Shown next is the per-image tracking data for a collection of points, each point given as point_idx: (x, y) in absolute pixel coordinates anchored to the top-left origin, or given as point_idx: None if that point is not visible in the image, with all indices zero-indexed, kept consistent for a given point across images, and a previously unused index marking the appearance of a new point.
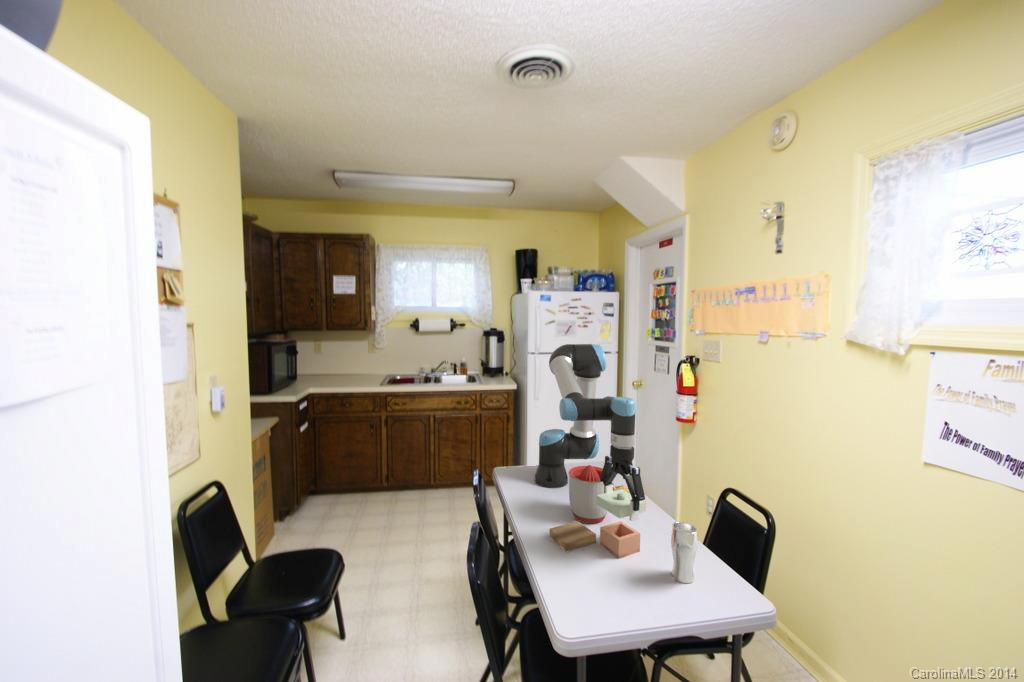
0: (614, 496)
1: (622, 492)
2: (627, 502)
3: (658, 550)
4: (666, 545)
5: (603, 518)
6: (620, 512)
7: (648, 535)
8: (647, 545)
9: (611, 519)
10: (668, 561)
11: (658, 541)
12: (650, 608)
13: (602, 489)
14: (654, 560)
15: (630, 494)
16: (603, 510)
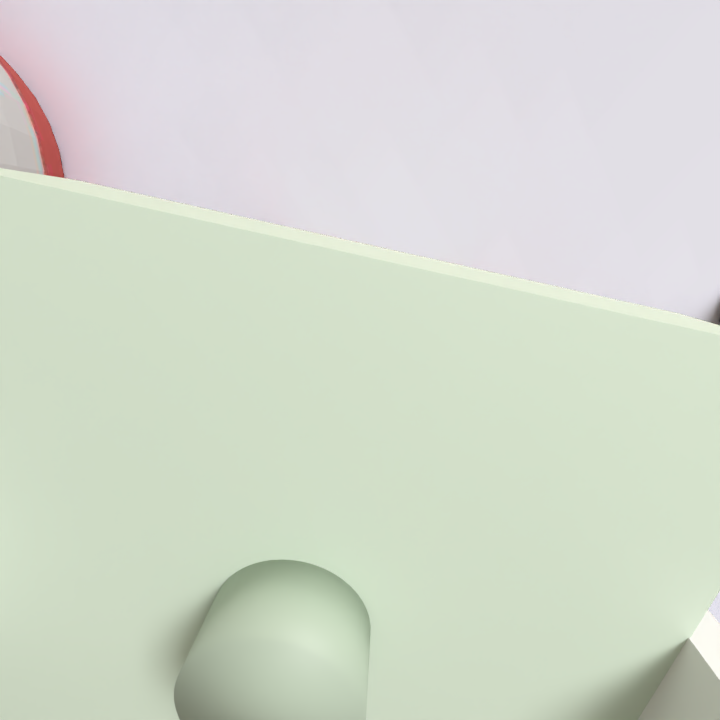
0: (150, 633)
1: (74, 341)
2: (491, 674)
3: (553, 155)
4: (571, 30)
5: (46, 130)
6: None
7: (398, 10)
8: (466, 161)
9: (64, 40)
10: (658, 226)
11: (498, 28)
12: (711, 612)
13: None
14: (581, 289)
15: (280, 278)
16: (1, 154)
